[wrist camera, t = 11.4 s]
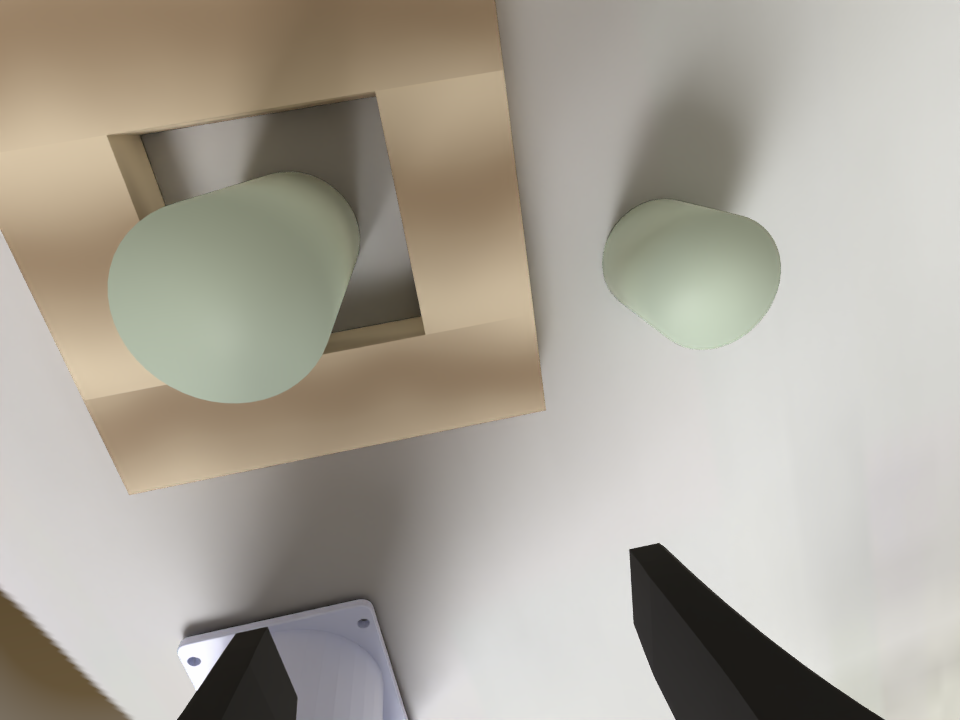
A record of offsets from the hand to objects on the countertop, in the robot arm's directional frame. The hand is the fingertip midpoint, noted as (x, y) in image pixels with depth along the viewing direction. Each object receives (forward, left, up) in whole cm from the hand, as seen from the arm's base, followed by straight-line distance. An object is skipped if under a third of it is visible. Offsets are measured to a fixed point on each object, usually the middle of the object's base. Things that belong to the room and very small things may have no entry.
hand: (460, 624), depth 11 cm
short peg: (+4, -9, -11) cm, 14 cm away
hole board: (+7, +3, -10) cm, 13 cm away
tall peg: (+6, +3, -10) cm, 13 cm away
